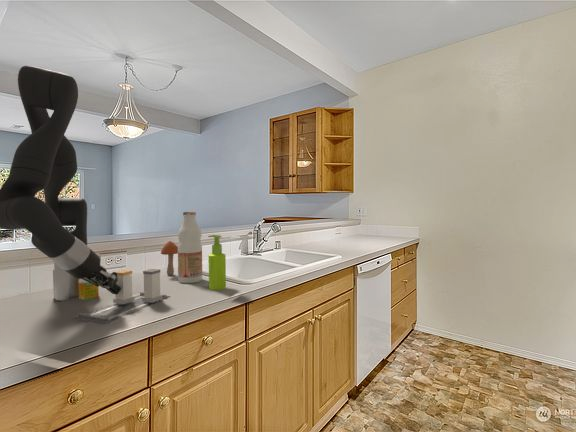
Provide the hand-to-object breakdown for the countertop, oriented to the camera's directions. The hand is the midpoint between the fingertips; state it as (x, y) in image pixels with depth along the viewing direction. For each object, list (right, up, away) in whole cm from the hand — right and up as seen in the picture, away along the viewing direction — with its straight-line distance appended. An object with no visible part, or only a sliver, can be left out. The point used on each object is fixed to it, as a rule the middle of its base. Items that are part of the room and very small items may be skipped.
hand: (117, 291), depth 90 cm
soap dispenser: (+25, -5, +19) cm, 32 cm away
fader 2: (+9, -4, +4) cm, 10 cm away
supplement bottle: (-14, -5, +9) cm, 17 cm away
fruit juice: (+11, -4, +34) cm, 36 cm away
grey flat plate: (+3, -5, -1) cm, 6 cm away
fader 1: (+1, -4, +2) cm, 5 cm away
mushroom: (-1, -4, +44) cm, 44 cm away
